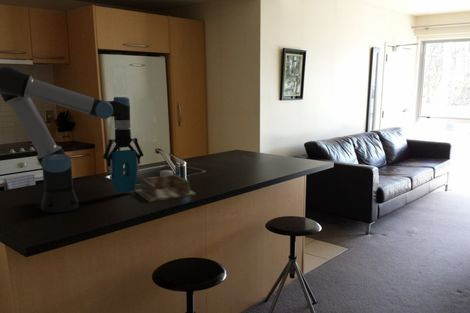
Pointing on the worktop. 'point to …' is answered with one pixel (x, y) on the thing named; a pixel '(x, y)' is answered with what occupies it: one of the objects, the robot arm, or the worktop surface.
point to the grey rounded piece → (166, 172)
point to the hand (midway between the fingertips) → (124, 171)
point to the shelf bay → (164, 188)
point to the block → (130, 176)
